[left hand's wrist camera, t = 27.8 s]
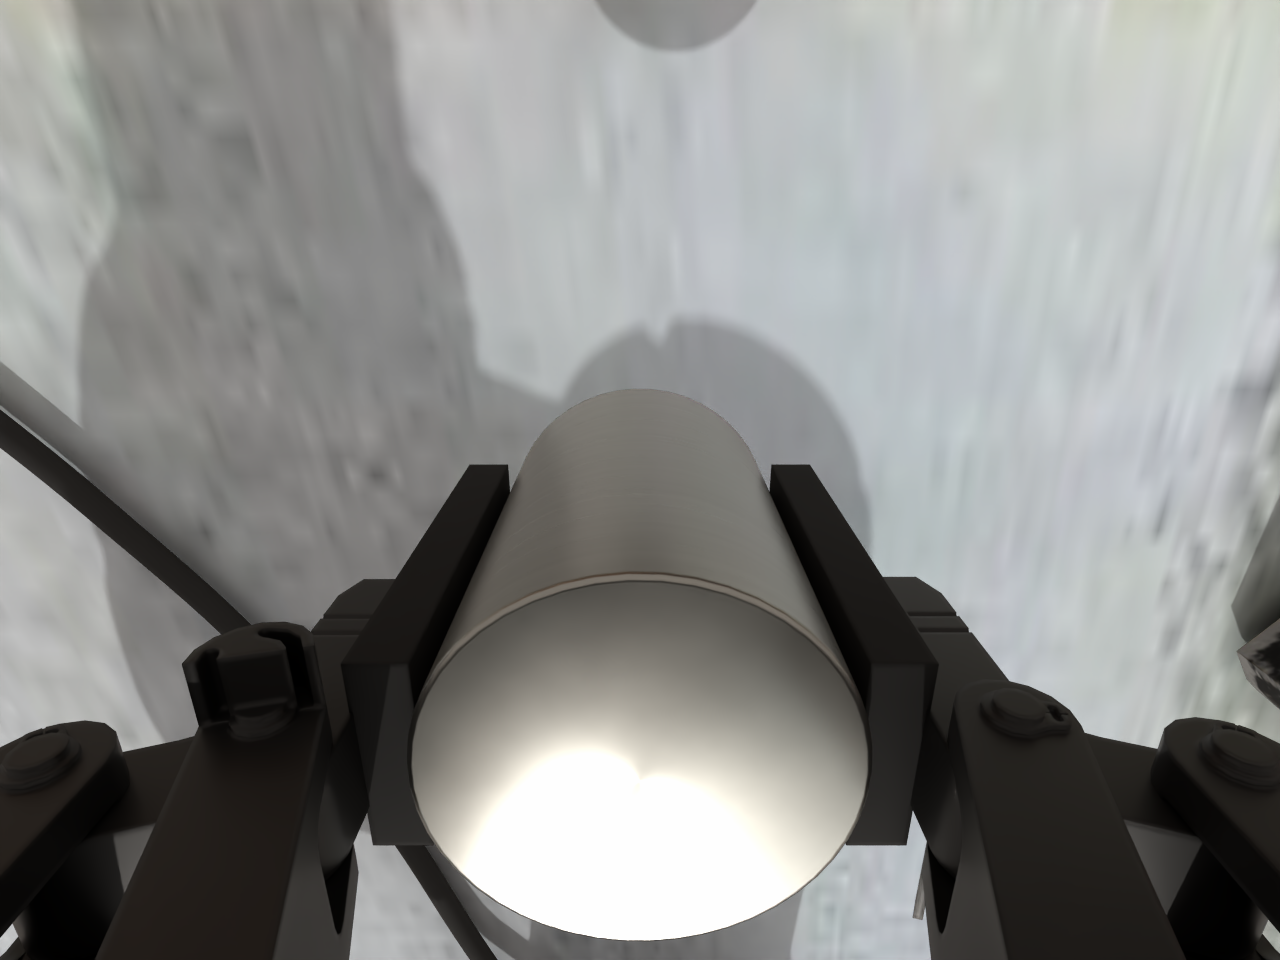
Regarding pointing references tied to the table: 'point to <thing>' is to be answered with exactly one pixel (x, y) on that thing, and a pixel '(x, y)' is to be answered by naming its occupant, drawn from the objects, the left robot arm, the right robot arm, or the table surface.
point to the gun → (1264, 662)
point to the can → (639, 689)
